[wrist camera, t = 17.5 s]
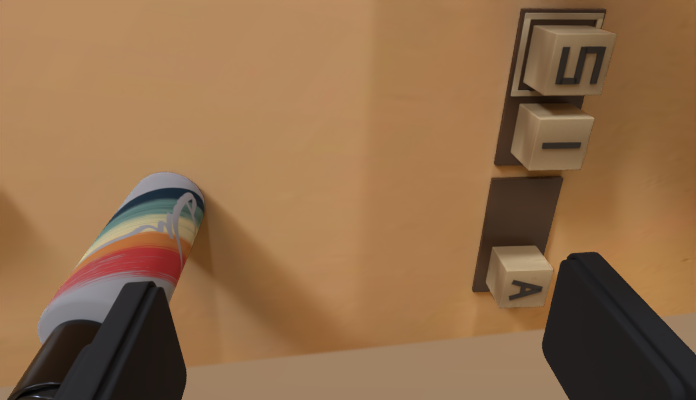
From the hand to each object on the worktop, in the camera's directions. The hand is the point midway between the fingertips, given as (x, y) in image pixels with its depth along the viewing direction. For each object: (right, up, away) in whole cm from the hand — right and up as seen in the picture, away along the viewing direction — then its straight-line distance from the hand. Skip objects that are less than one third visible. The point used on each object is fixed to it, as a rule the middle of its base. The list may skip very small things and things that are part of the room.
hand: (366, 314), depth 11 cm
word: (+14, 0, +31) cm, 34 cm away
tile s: (+15, +13, +23) cm, 30 cm away
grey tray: (+15, +11, +24) cm, 30 cm away
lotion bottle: (-15, +3, +27) cm, 31 cm away
